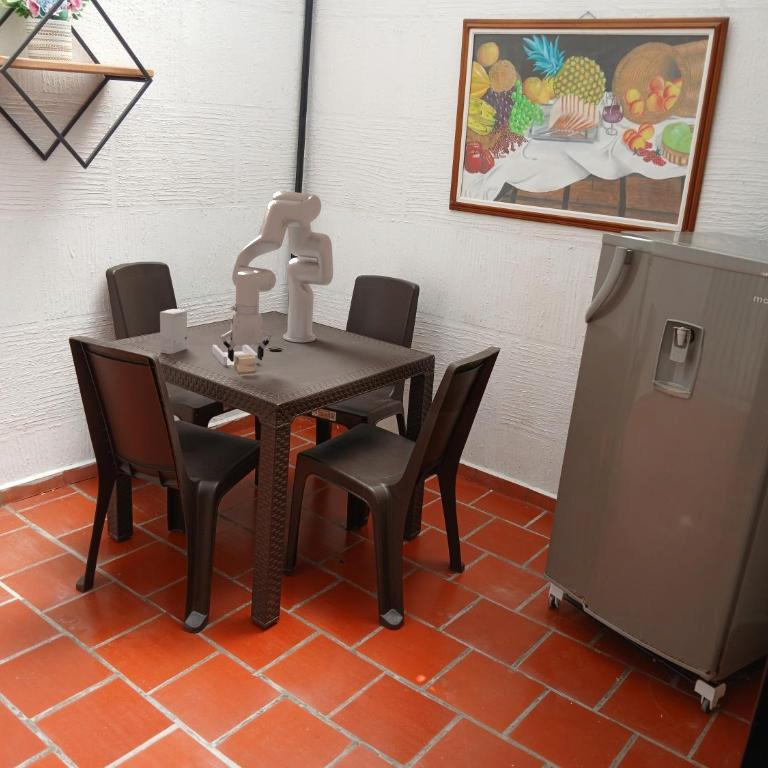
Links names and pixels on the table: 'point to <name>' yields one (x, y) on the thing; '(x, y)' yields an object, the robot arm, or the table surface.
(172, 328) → the skincare box
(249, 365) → the birch block
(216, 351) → the u-shaped channel
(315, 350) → the table surface
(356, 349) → the table surface
